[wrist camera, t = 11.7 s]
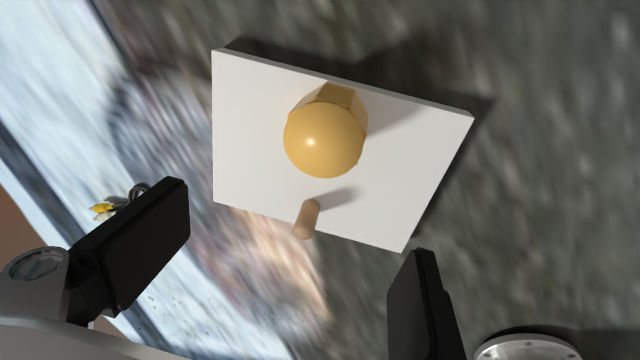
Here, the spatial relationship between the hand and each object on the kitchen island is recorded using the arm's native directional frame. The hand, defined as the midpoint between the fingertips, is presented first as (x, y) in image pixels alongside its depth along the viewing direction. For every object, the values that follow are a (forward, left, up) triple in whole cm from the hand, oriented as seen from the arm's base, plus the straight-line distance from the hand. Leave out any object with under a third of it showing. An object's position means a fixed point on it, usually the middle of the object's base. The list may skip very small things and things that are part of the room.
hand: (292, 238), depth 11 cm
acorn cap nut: (0, 0, -15) cm, 15 cm away
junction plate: (0, +5, -17) cm, 17 cm away
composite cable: (+24, +19, -17) cm, 36 cm away
